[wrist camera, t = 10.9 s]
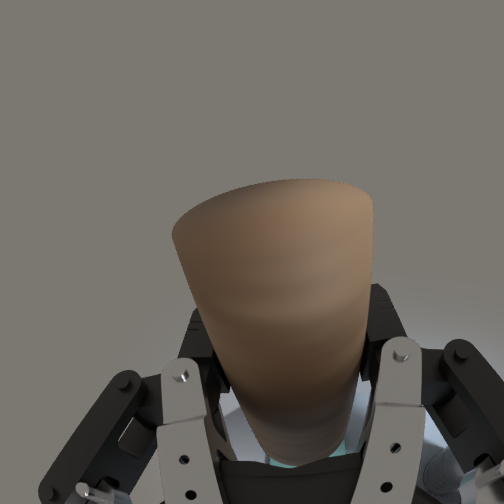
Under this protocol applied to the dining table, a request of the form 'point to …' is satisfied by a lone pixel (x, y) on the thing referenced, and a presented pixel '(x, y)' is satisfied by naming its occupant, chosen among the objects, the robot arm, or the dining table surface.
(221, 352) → the cylinder
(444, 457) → the silver tall tapered cylinder
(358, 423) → the dining table surface
